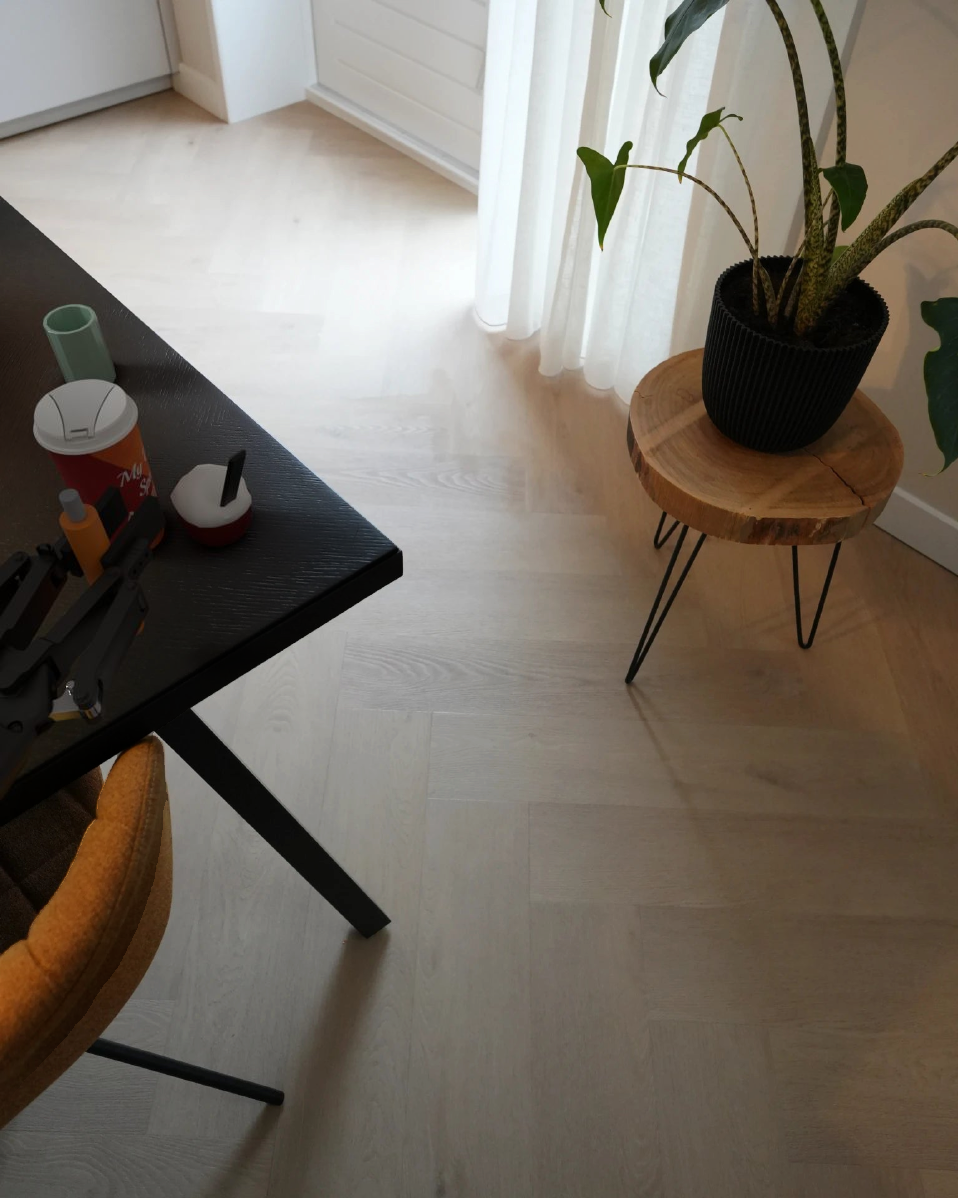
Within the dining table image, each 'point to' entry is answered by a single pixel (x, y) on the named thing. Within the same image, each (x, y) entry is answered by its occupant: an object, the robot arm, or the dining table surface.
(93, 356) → the pencil cup
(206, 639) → the dining table surface
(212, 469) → the cocoa
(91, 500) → the paper cup
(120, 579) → the robot arm
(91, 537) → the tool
